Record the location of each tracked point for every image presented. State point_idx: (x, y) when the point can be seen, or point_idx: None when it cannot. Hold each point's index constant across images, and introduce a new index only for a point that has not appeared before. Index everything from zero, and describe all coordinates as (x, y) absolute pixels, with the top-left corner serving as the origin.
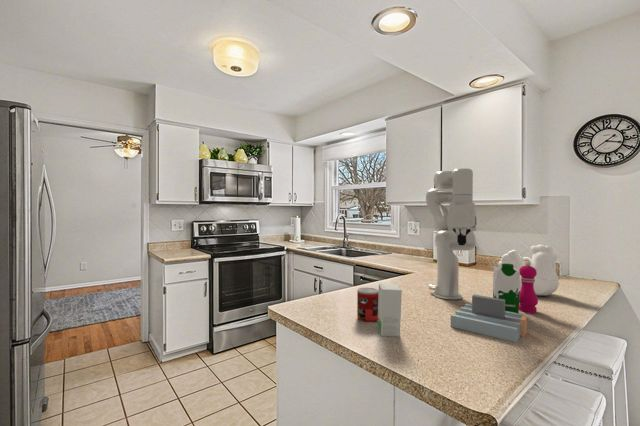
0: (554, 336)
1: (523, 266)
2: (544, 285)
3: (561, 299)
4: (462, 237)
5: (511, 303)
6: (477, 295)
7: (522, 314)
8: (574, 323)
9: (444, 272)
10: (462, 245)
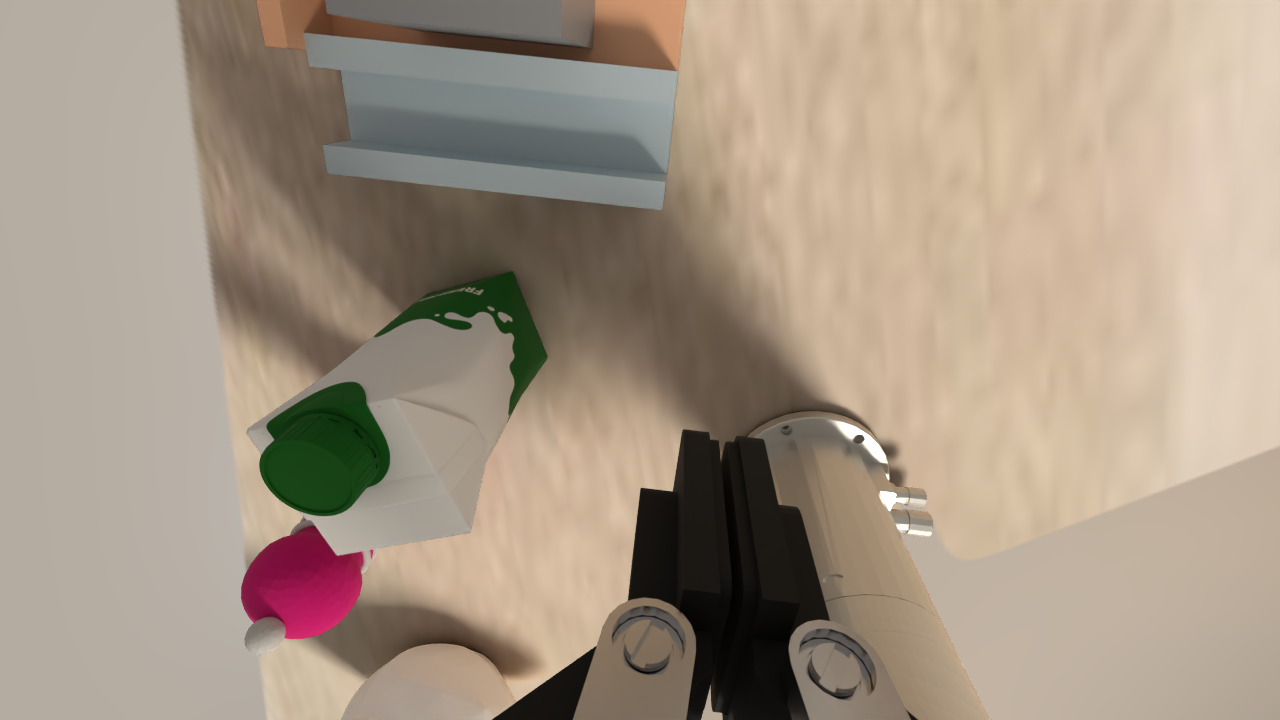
0: (217, 69)
1: (300, 612)
2: (385, 685)
3: (362, 643)
4: (689, 546)
5: (420, 302)
6: (529, 17)
7: (340, 166)
8: (228, 343)
9: (863, 544)
10: (689, 435)
